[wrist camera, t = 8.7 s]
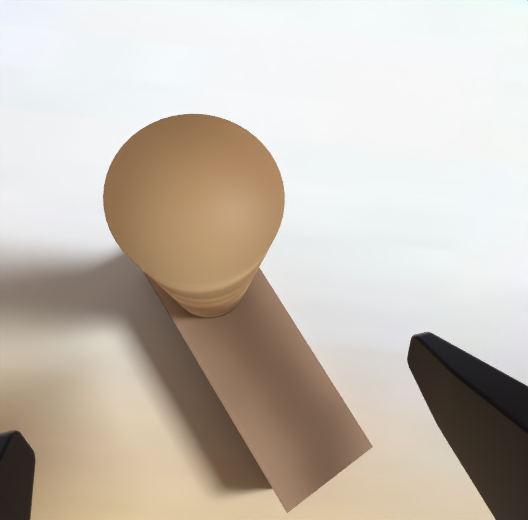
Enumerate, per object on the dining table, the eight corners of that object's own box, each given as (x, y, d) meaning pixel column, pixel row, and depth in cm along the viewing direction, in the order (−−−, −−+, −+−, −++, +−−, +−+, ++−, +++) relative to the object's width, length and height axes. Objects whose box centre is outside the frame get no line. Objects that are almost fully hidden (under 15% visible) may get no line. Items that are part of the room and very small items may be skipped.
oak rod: (205, 333, 19) (181, 322, 7) (158, 277, 19) (65, 181, 8) (260, 286, 20) (319, 207, 8) (215, 233, 20) (209, 83, 8)
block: (277, 488, 21) (286, 512, 18) (145, 267, 22) (134, 256, 19) (352, 432, 22) (372, 446, 19) (220, 224, 23) (221, 207, 20)
